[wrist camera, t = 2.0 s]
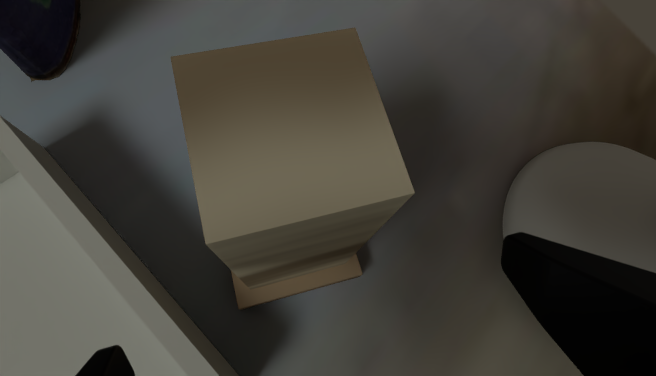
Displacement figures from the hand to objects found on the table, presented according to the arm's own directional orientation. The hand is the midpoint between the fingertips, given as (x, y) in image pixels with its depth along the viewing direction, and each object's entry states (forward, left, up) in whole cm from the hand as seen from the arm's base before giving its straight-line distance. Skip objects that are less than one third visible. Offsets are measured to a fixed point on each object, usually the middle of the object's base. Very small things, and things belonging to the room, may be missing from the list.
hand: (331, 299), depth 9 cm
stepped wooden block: (+3, -2, -11) cm, 11 cm away
